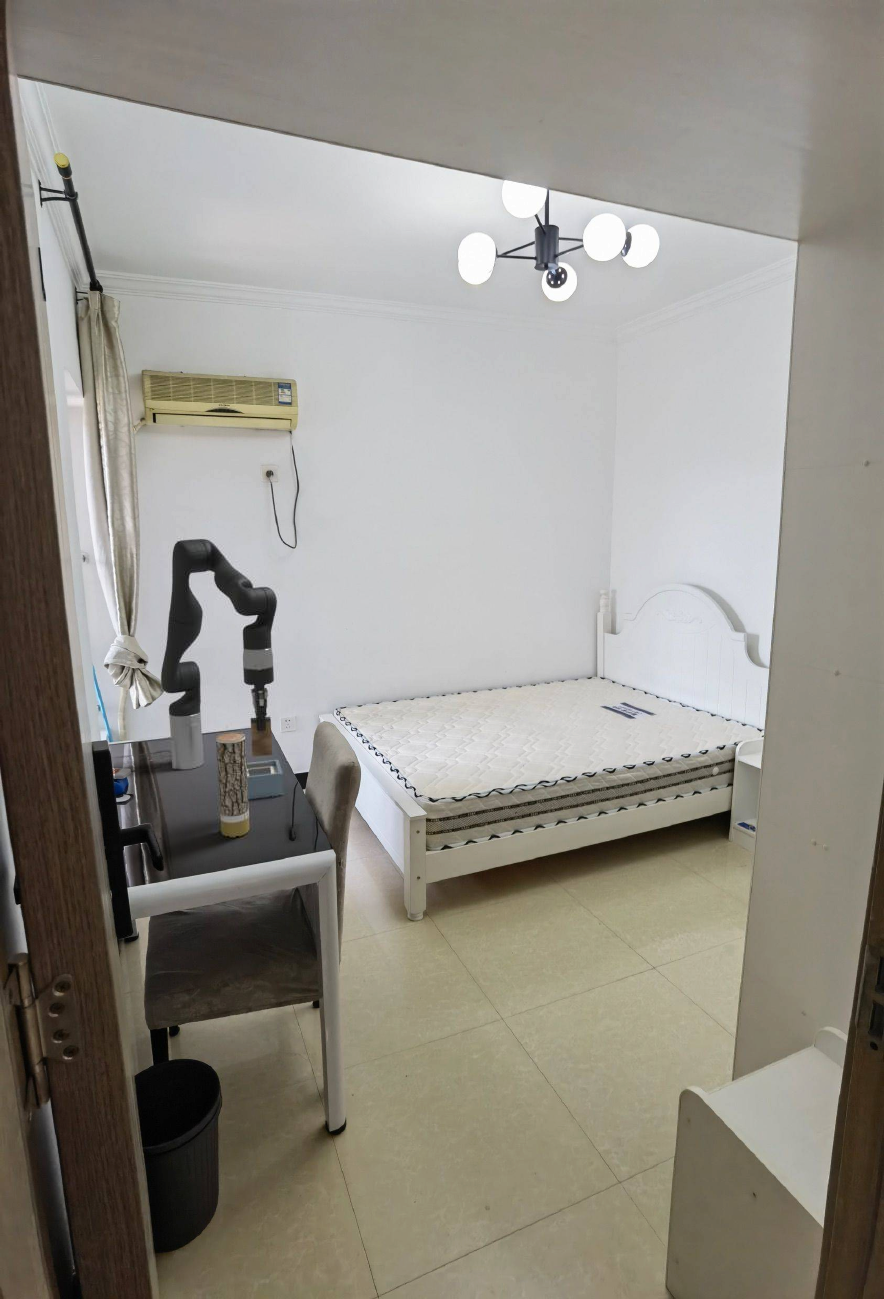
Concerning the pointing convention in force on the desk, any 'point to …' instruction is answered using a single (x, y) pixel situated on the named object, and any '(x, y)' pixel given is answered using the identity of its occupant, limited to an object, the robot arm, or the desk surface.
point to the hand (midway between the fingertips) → (261, 728)
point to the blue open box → (264, 779)
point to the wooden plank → (261, 738)
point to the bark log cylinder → (232, 784)
